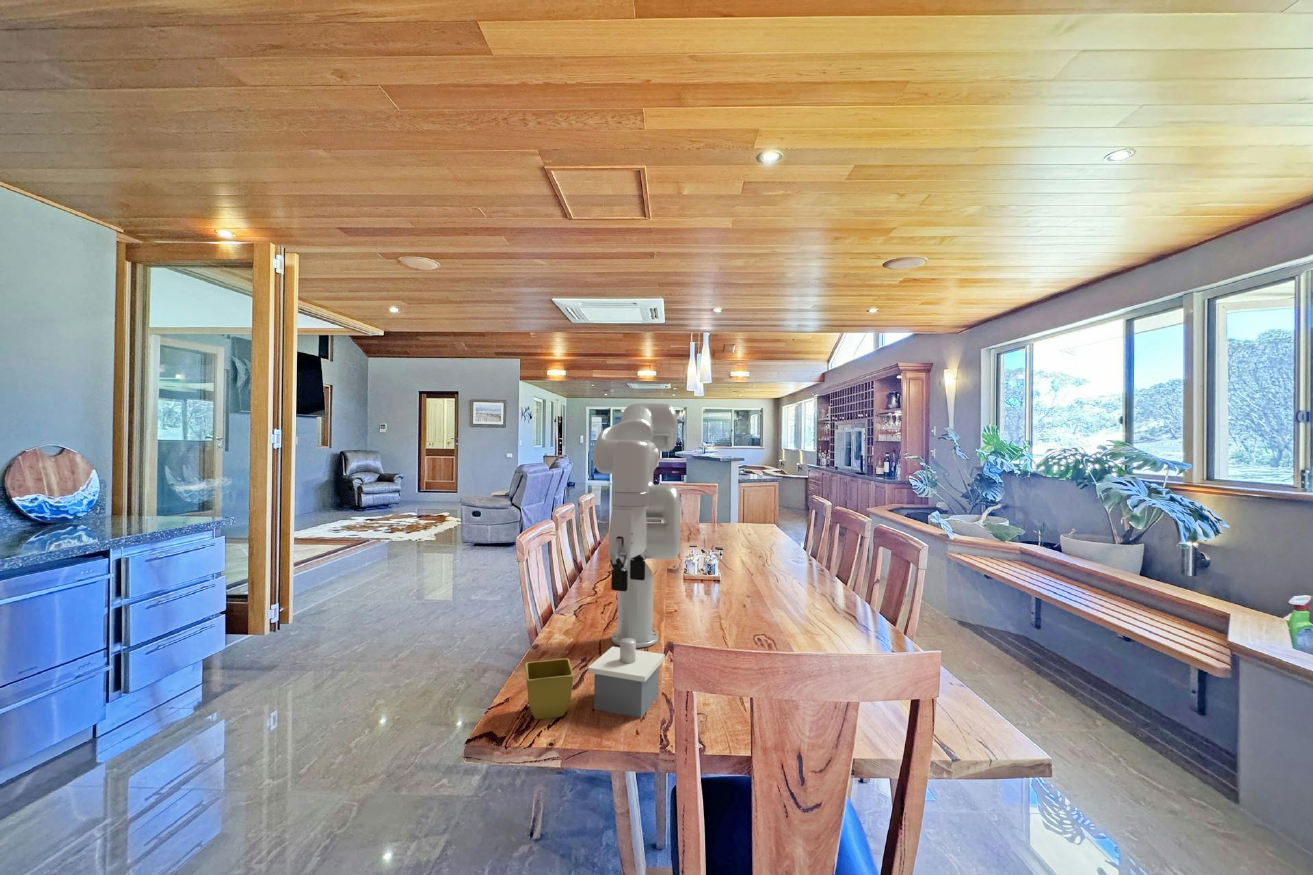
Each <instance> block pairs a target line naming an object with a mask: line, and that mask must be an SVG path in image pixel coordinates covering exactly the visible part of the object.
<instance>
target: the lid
mask: <svg viewBox="0 0 1313 875" xmlns="http://www.w3.org/2000/svg"><path fill="white" fill-rule="evenodd" d="M665 658H666V653H659V652H651V651H644V650H639V649H637V648H636V640H635V639H632V638H624V639H621V640H620V646H611V647H610V648H609V649H608V650H606V651H605V653H603V654H602V655H600V657H598V658H597V659H596V660H595V661H594V662H592V664H590V665H589V666H588V667H587V673H589V674H593V675H595V674H599V675H605V676H611V677H617V678H623V679H629V680H635V681H641V682H645V681H646V680H647V679H648V678H649V677H650V676H651V674H652V673H653V672H654V671H655V670H656V669H657V667H658V666H660V665H661V664H662V663H663V662H664V660H665Z"/></svg>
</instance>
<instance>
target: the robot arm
mask: <svg viewBox="0 0 1313 875" xmlns="http://www.w3.org/2000/svg"><path fill="white" fill-rule="evenodd" d="M678 422H679V421H678V415H677V412H676V410H675V408H674V406H673V405H671V404H669V403H648V402H647V403H646V402H637V403H632V404H630V405H628V406H627V407H626V408H624V410H623V412H622V415H621V419H620V422H618V423H615V424H613V425H610V426H608V427H605V428H604V429H603V430H602V431H601V432H599V434H598V436H597V437H596V441H595V443H594V444H595V445H594V448H593V456H592V460H593V465H594V468H595V469H596V470H597V472H599V473H601V474H605V475H607V474H608V475H611V477H612V478H611V482H612V483H611V508H612V509H611V510H612V511H611V517H610V522H609V532H608V549H607V552H608V553H607V554H608V556H609V557H610V559H609V560H610V561H609V562H610V564H611V565H610V570H611V579H610V580H611V581H610V582H611V586H610V587H611V590H612V591H615V592H616V591H617V623H616V624H617V627H616V628H617V630H615V631H614V632H613V633H612V634H611V642H612V643H613V644H615V645H617V646H618V647H620V640H621V639H624V638H632V639H635V640H636V649H639V648H641V649H642V648H646V647H651V646H653V645H656V643H657V642H658V640H659V634H658V633H656V632H655V631H654V630H653V623H654V622H655V619H654V616H653V614H654V610H653V608H654V606H653V605H654V574H653V571H652V569H651V568H650V567H649V565H648V563H647V562H646V560H654V559H656V560H672V559H676V558H677V557H678V556H679V554H680V549H681V505H680V504H681V502H680V500H681V499H680V494H679V491H678V490H677V488H676V487H675V486H673V485H670V484H669V485H668V484H654V471H655V470H656V468H657V467H659V463H660V452H664V453H665V452H671V451H673V449H675V447H676V444H677V440H678V428H679V427H678V425H679V424H678ZM647 520H661V521H662V523H661V522H647Z"/></svg>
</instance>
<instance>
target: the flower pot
mask: <svg viewBox="0 0 1313 875" xmlns="http://www.w3.org/2000/svg"><path fill="white" fill-rule="evenodd" d="M524 665H525V666H524V667H525V677H526V678H525V679H526V680H525V681H526V688H527V698H528V706H529V709H530V712H531V715H532V716H533V718H534V719H535V720H543V719H551V718H559V717H564V716H565V714H566V712H567V711H568V709H569V706H570V703H571V698H572V692H573V684H574V671H573V668H572V665H571V661H570V659H569V658H568V657H566V658H565V657H564V658H557V659H549V660H538V661H537V660H536V661H528V662H525V663H524Z"/></svg>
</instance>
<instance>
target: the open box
mask: <svg viewBox="0 0 1313 875" xmlns="http://www.w3.org/2000/svg"><path fill="white" fill-rule="evenodd" d="M659 666H660V665H659ZM659 666H658V667H657V669H656V670H655V671H654V672H653V673H652V674H651V676H650V677H649V678H648V679H647V680H646V681H645V682H641V681H635V680H629V679H623V678H617V677H611V676H605V675H599V674H594V678H593V679H594V684H593V685H594V686H593V687H594V688H593V693H594V694H593V695H594V696H593V710H595V711H596V710H597V711H602V712H606V713H613V714H618V715H623V716H628V717H633V718H639V719H642V718H643V716H644V715H645V714H646V713H647V711H648V710H649V708H651V706H652V705H653V704H654V702H655V701H656V700H657V698H658V697H659Z"/></svg>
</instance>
